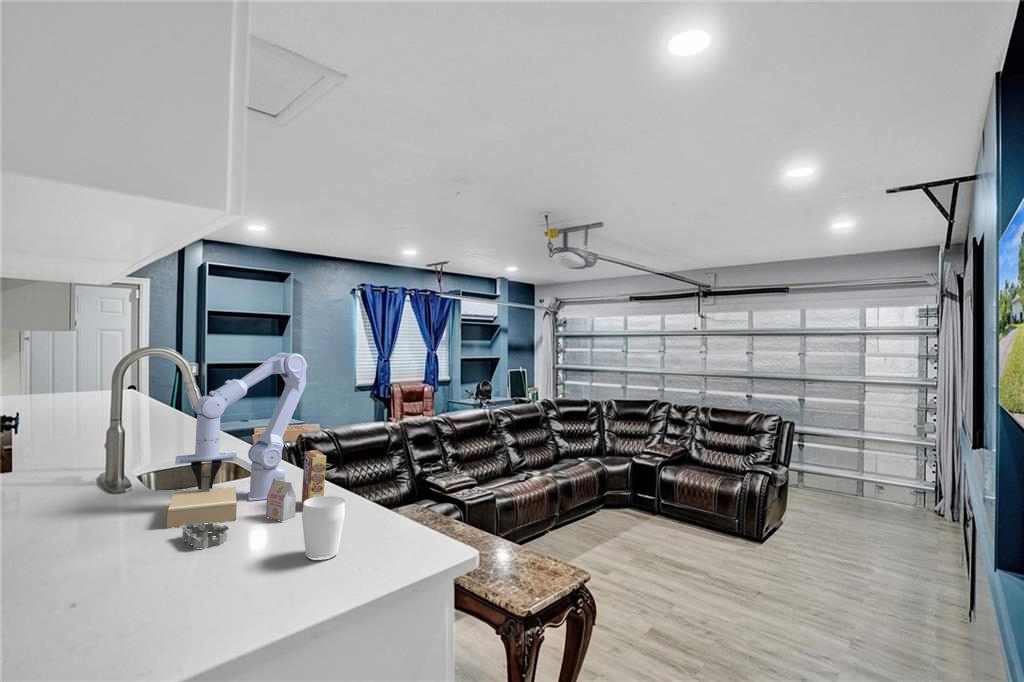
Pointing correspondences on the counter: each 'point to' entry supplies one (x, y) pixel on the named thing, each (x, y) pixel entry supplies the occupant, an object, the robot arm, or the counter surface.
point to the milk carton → (281, 501)
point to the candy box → (313, 475)
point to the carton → (201, 516)
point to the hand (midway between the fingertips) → (205, 488)
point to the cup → (322, 525)
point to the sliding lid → (203, 497)
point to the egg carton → (204, 534)
